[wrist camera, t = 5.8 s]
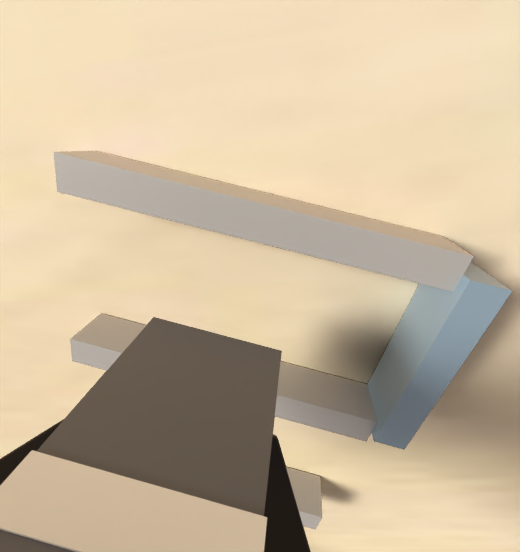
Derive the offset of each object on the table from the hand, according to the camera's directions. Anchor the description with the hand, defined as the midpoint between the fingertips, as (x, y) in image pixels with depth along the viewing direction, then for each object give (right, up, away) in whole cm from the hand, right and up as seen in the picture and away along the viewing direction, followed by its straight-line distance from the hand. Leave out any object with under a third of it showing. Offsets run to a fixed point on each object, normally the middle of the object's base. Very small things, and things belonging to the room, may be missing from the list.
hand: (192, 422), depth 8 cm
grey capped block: (0, +1, +1) cm, 2 cm away
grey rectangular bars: (0, -1, +9) cm, 9 cm away
